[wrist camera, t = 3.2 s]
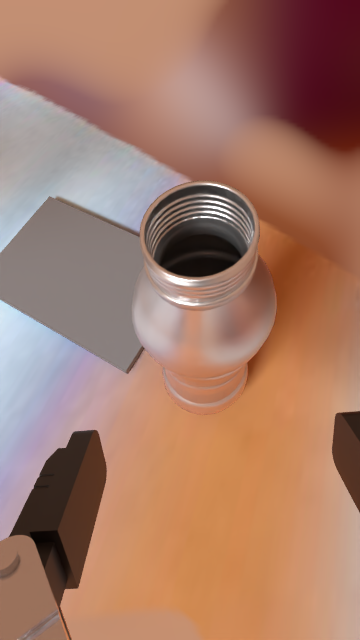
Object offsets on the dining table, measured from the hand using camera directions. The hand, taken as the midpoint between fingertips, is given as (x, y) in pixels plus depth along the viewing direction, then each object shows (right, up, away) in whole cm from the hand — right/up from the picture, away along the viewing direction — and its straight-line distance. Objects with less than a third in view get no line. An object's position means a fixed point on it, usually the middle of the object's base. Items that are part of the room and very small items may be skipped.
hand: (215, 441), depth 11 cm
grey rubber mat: (-10, +8, +22) cm, 25 cm away
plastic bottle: (+1, -1, +17) cm, 17 cm away
